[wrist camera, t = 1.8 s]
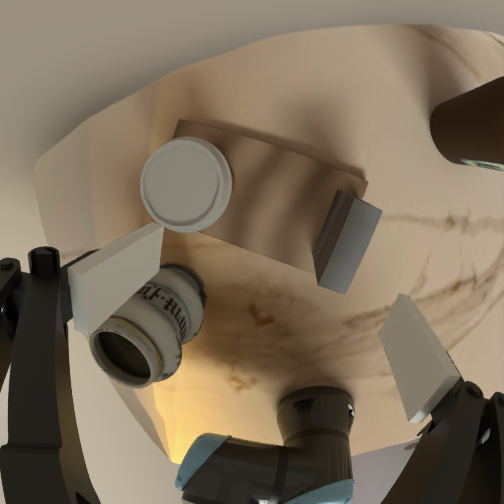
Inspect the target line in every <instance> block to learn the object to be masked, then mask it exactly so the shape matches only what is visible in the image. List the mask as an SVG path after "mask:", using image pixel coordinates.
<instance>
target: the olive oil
mask: <svg viewBox="0 0 504 504" xmlns="http://www.w3.org/2000/svg"><path fill="white" fill-rule="evenodd" d="M430 127H431V134H432V138H433V141H434V143H435V145H436V147H437V149H438V150H439V152H440V153H441V154H442V155H443V156H444V157H445V158H446V159H447V160H449V161H450V162H453V163H455V164H461V165H470V166H476V167H483V168H488V169H493V170H499V171H503V172H504V76H503V77H500V78H497V79H495V80H493V81H491V82H488V83H486V84H484V85H482V86H480V87H477V88H475V89H473V90H471V91H469V92H466V93H464V94H462V95H460V96H458V97H455V98H453V99H450V100H448V101H446V102H443V103H441V104H440V105H438V106H437V107H436V108H435V110H434V111H433V113H432V116H431V123H430Z"/></svg>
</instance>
